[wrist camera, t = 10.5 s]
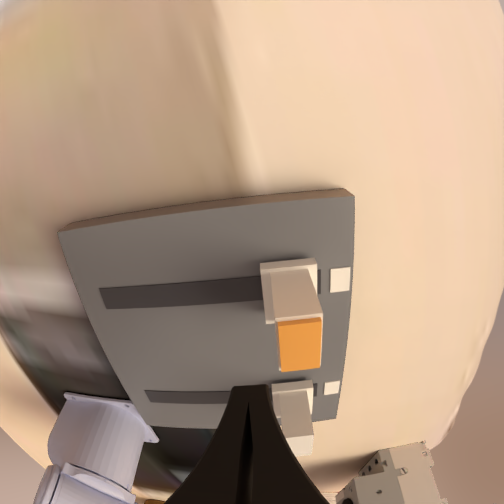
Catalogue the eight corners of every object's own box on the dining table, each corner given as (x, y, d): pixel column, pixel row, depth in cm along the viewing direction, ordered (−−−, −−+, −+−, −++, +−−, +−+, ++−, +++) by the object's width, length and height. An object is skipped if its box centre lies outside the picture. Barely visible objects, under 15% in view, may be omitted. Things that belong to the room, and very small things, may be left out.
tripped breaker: (265, 316, 18) (269, 378, 13) (259, 263, 16) (262, 319, 12) (314, 311, 18) (331, 371, 13) (314, 257, 16) (336, 311, 12)
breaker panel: (150, 411, 26) (146, 425, 24) (70, 223, 18) (56, 233, 16) (332, 403, 25) (336, 419, 23) (344, 188, 17) (355, 196, 15)
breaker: (274, 410, 22) (277, 459, 18) (271, 383, 20) (274, 437, 16) (310, 406, 22) (318, 454, 17) (311, 379, 20) (321, 432, 16)
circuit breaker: (336, 455, 30) (353, 554, 16) (425, 440, 31) (453, 520, 17) (321, 476, 33) (331, 561, 20) (402, 463, 34) (423, 536, 20)
